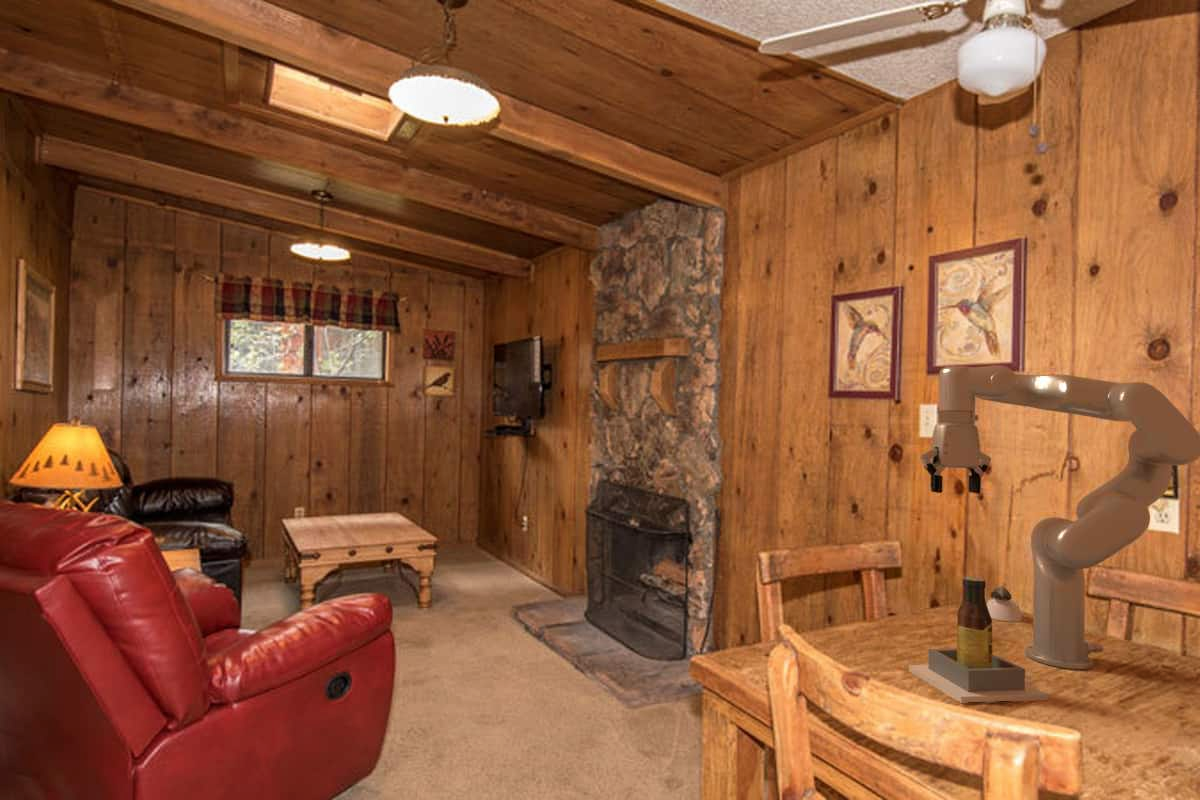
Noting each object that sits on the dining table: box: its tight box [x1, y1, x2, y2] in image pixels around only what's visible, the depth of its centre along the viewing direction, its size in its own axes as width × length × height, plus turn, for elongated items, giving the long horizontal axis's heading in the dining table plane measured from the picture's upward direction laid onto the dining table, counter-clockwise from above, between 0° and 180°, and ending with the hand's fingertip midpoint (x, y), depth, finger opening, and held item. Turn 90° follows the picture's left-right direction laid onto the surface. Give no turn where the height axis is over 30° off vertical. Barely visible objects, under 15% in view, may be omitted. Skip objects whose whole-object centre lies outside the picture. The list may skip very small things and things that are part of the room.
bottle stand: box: [908, 648, 1048, 704], centre depth 135 cm, size 18×16×5 cm
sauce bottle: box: [956, 576, 993, 669], centre depth 135 cm, size 6×6×20 cm
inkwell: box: [986, 585, 1024, 623], centre depth 180 cm, size 9×18×10 cm, turn 151°
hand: (955, 492), depth 157 cm, fingers open, 9 cm apart
